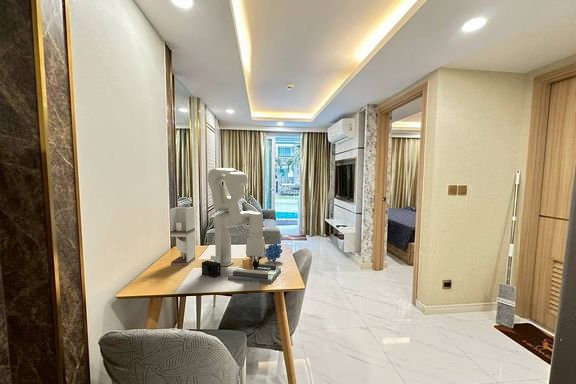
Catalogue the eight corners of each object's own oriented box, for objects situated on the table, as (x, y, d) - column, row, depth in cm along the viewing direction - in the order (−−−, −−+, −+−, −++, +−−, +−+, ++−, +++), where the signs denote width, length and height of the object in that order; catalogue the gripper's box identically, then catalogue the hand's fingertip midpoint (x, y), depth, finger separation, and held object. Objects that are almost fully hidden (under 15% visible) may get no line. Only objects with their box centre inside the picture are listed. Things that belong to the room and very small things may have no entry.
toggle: (240, 271, 141) (240, 259, 140) (244, 268, 145) (244, 256, 145) (251, 272, 139) (251, 260, 139) (254, 269, 144) (254, 257, 144)
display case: (179, 259, 170) (178, 206, 168) (195, 259, 169) (194, 206, 168) (171, 265, 158) (169, 208, 157) (188, 265, 158) (186, 208, 157)
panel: (227, 279, 135) (227, 273, 135) (242, 267, 153) (242, 262, 153) (270, 283, 130) (270, 277, 129) (280, 271, 147) (280, 266, 147)
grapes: (282, 258, 171) (282, 241, 170) (282, 262, 164) (282, 243, 163) (264, 259, 170) (264, 241, 169) (264, 262, 163) (264, 243, 163)
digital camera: (199, 275, 142) (199, 262, 141) (207, 272, 146) (207, 260, 146) (213, 278, 136) (213, 265, 136) (220, 275, 141) (220, 262, 141)
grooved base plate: (232, 275, 136) (232, 269, 136) (245, 265, 151) (245, 259, 151) (266, 278, 131) (266, 272, 131) (276, 268, 146) (276, 262, 146)
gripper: (240, 235, 138) (240, 269, 139) (266, 237, 135) (266, 271, 135) (245, 233, 146) (246, 264, 146) (270, 234, 142) (271, 266, 143)
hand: (256, 267), depth 141 cm, fingers closed
